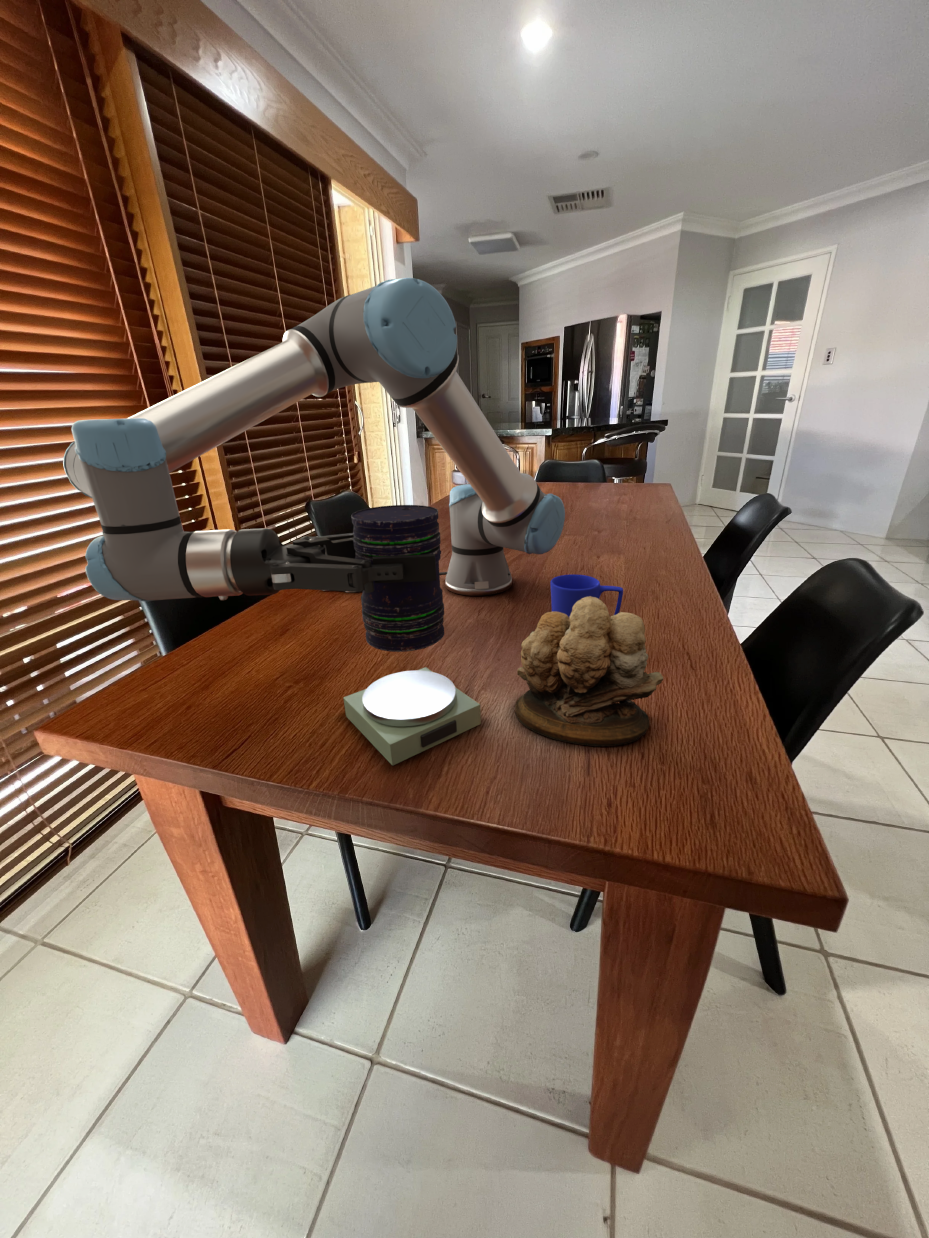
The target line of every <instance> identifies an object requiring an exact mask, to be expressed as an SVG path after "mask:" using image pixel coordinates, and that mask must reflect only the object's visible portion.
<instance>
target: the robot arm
mask: <svg viewBox="0 0 929 1238" xmlns="http://www.w3.org/2000/svg"><path fill="white" fill-rule="evenodd" d="M455 329H457V324H456V319H455V317H454V313H453V311H452V308H451V307H450V305H449V303H448V302H447V300H446V299H445V297H444V296H443V295H442V294H441V293H440V291H438V289H436V288H435V287H434V286H433V285H431V284H430V283H428V282H427V281H424V280H422V279H420V278H415V277H402V278H394V279H391V278H390V279H387V280H384V281H381V282H379V283H378V284H376V285H374V286H372V287H369V288H366V289H363V290H360V291H358V292H355V293H352V294H351V293H350V294H348V295H345V296H343V297H340V298H338V299H337V300H335V301H334V302H331V303H330V304H329V305H327V306H325V308H322V310H320V311H318V312H317V313H316V314H315V315H312V316H311V317H310V318H308V319H306V320H305V321H303V322H302V323H299V324H297V325H295V326H293V327H292V328H290V329H287V330H286V331H285V332H284V333H283V337H282V342H280V343H278V344H276V345H274V346H272V347H270V348H268V349H266V350H264V351H262V352H260V353H258V354H256V355H254V356H251V357H250V358H247V359H246V360H244V361H242V362H240V363H237V364H235V365H233V366H231V367H229V368H227V369H225V370H223V371H221V372H219V373H217V374H214V375H213V376H211V377H209V378H207V379H205V380H202V381H201V382H198V383H196V384H195V385H192V386H190V387H188V388H185V389H184V390H182V391H180V392H178V393H176V394H174V395H172V396H169V397H168V398H166V399H164V400H162V401H160V402H157V403H156V404H153V405H152V406H149V407H148V408H145V409H144V410H141V411H139V412H137V413H136V414H133V415H131V416H129V417H126V418H100V419H80V420H76V421H75V422H73V424H72V426H71V434H72V437H73V440H74V441H72V442H71V443H70V444H69V446H67V448H66V450H65V452H64V453H63V454H64V455H63V459H62V464H63V469H64V473H65V475H66V477H67V479H68V480H69V482H70V484H71V485H72V486H73V487H74V488H75V489H76V490H77V491H79V492H81V494H83V495H85V496H86V497H89V498H91V499H92V502H93V505H94V507H95V511H96V513H97V516H98V519H99V522H100V527H101V530H102V532H101V533H102V535H101V536H98V537H96V538H94V539H93V540H92V541H91V542H89V543H88V546H87V548H86V550H85V554H84V556H85V557H84V558H85V560H86V562H87V564H86V566H85V567H84V570H85V575H86V577H87V580H88V581H89V583H90V585H91V587H92V588H93V589H94V590H95V591H96V592H97V593H98V594H99V595H101V596H102V597H104V598H106V599H109V600H113V601H140V602H153V601H164V600H179V599H193V598H196V599H197V598H198V599H200V598H212V597H218V598H219V600H220V601H227V600H228V598H229V597H234V596H235V597H236V596H241V595H243V594H244V595H246V596H266V595H276V594H278V593H279V592H280V591H283V590H309V591H310V590H311V591H323V590H329V591H330V592H345V591H349V592H348V593H363V592H362V591H364V590H365V593H370V592H373V591H374V583H373V581H375V583H396V582H417V581H436V561H435V554H424V555H402V556H380V557H373V558H372V560H373V565H371V561H370V560H362V559H355V557H356V550H355V549H354V541H353V538H354V534H353V532H349V533H339V534H329V535H320V536H319V535H317V536H313V535H312V536H308V535H306V536H305V535H304V536H303V537H300V539H296V540H295V539H294V540H293V541H292V544H287V545H285V544H283V542H281V540H280V537H279V536H278V534H277V533H276V532H275V531H274V529H271V528H268V527H267V528H250V529H249V528H246V529H245V528H243V529H239V530H238V531H237V530H235V529H231V528H230V529H229V528H228V529H211V530H210V529H209V530H195V531H185V530H184V527H183V524H182V519H181V515H180V511H179V508H178V504H177V500H176V494H175V490H174V487H173V482H172V478H171V474H170V473H172V472H174V471H176V470H177V469H180V468H181V467H183V466H185V465H186V464H188V463H190V462H192V461H194V460H195V459H197V458H199V457H201V456H203V455H205V454H206V453H208V452H210V451H212V450H213V449H216V448H217V447H219V446H221V445H222V444H224V443H226V442H228V441H230V440H231V439H233V438H235V437H237V436H239V435H241V434H242V433H244V432H246V431H248V430H250V429H251V428H253V427H255V426H257V425H259V424H260V423H262V422H264V421H265V420H268V419H269V418H271V417H273V416H275V415H276V414H278V413H280V412H282V411H284V410H286V409H287V408H289V407H291V406H293V405H295V404H297V403H298V402H300V401H302V400H303V399H305V398H307V397H309V396H311V395H313V396H315V397H317V398H321V397H324V396H326V395H327V394H330V393H331V392H334V391H336V390H338V389H341V388H344V387H349V386H354V385H358V384H371V383H372V384H373V383H379V384H380V385H381V386H382V388H383V390H385V391H386V393H387V394H388V395H389V397H390V398H391V400H393V402H394V403H395V404H396V406H398V407H399V408H404V409H412V410H413V412H414V413H415V414H416V415H417V417H418V418H419V419H420V420H421V422H422V423H423V424H424V426H425V427H426V429H428V431H429V432H430V434H431V435H432V436H433V438H434V439H435V440H436V441H437V443H438V444H439V446H440V447H441V448H442V450H443V451H444V452H445V453H446V455H447V456H448V458H449V459H450V460H451V461H452V463H453V464H454V465H455V467H456V469H458V471H459V472H460V473H461V475H462V476H463V477H464V479H465V480H466V482H467V483H466V484H460V485H456V486H453V487H452V488H451V490H450V491H449V504H448V510H449V526H450V541H451V557H450V560H449V564H448V568H447V571H441V572H440V571H439V574H440V576H445V588H446V589H447V590H448V591H449V592H451V593H453V594H457V595H461V596H467V597H468V596H469V597H471V596H473V597H482V596H483V597H485V596H490V595H491V596H492V595H496V594H500V593H503V592H505V591H507V590H509V589H510V588H511V587H512V585H513V578H512V573H511V571H510V567H509V565H508V561H507V558H506V554H505V549H509V550H514V551H519V552H523V553H526V554H528V555H532V554H533V555H543V554H546V553H548V552H550V551H551V550H552V549H553V548H554V547H555V546H556V544H557V543H558V541H559V540H560V537H561V535H562V533H563V530H564V526H565V520H566V519H565V518H566V509H565V505H564V502H563V500H562V499H561V498H560V497H559V496H558V495H556V494H553V493H544V492H543V490H542V488H540V486H539V484H538V483H537V481H536V480H535V478H534V476H532V475H530V474H529V473H524V472H523V473H522V472H521V471H520V469H519V468H518V467H517V465H516V463H515V462H514V460H513V458H512V457H511V455H510V454H509V452H508V450H507V449H506V448H505V446H504V444H503V443H502V441H501V440H500V438H499V437H498V435H497V433H496V432H495V430H494V428H493V427H492V425H491V423H490V422H489V420H488V419H487V418H486V416H485V415H484V413H483V411H482V410H481V408H480V406H479V405H478V403H477V402H476V400H475V399H474V397H473V396H472V393H471V392H470V391H469V389H468V387H467V386H466V385H465V382H464V381H463V379H462V378H461V376H460V375H459V374H458V372H457V371H458V370H457V369H458V365H459V361H460V356H459V354H458V352H457V347H458V335H457V334H456V333H455ZM329 591H328V592H329Z"/></svg>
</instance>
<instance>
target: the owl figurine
mask: <svg viewBox="0 0 929 1238" xmlns="http://www.w3.org/2000/svg"><path fill="white" fill-rule="evenodd" d="M569 618H570V619H569ZM645 633H646V627H645V623H644V620H643V618H642V617H640V616H639V615H636V614H634V613H633V612H632V613H630V612H623V611H619V613H618V614H616V615H614V614H613V615H611V614H610V613H609V609H608V607H607V604H606V603H604V602H603V601H602V600H601V599H600V598H599V599H598V598H596V597H591V596H589V597H585V598H582V599H581V600H579V601H577V602H576V603H575V604H574V605H573V607H572V612H571V615H570V616H569V617H568V616H567V615H566V614H564V613H561V612H557V611H556V612H555V611H552V610H551V611H548V612H545V613H543V614H542V615H541V616H540V618H539V621H538V623H537V624H536V628H535V630H534V631H533V630H532V631H531V633H530V634H529V635H528V636H527V637H526V638H525V639H524V640H523V641H522V642H521V645H520V646H521V651H520V656H521V658H520V663H521V666H520V667H519V668H517V671H516V672H517V676H519V678H521V679H522V680H523V681H526V684H527V686H528V689H529V690H527V691H525V693H524V694H522V695H520V697H518V699H517V700H516V702H515V706H514V708H515V709H514V710H515V711H514V714H515V716H516V718H517V720H518V722H519V723H520V724H521V725H522V726H524V727H525V728H527V729H529V730H530V731H532V732H534V733H537V734H539V735H542V736H544V737H546V738H550V739H552V740H556V741H559V742H564V743H569V744H574V745H583V746H589V747H612V746H613V747H615V746H621V745H626V744H630V743H633V742H636V741H638V740H640V738H641V737H644V736H645V735H646V734H647V731H648V729H649V726H650V717H649V716H648V714H647V713H646V711H645V710H643V709H642V708H641V707H640V706H639V705H638V704H637V703H636V702H635V701H634V700H638V699H639V700H643V699H646V698H649V697H650V696H652V695H653V693H654V692H655V691H657V686H659V685H661V684H662V683H663V681H664V676H663V674H662V673H661V672H660V671H653V672H649V673H648V672H645V671H646V668H647V665H648V662H647V661H648V659H649V653H647V648H646V642H647V640H646V634H645Z"/></svg>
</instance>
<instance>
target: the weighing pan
mask: <svg viewBox="0 0 929 1238" xmlns="http://www.w3.org/2000/svg"><path fill="white" fill-rule="evenodd" d="M456 688H457V687H456V686H455V684H454V683H453V681H452V680H451V679H450V678H449V677H447V676H445V675H443V674H441V673H438V672H434V671H432V672H430V671H421V670H419V669H417V670H416V669H415V670H403V671H399V672H394V673H391V674H387V675H385V676H382V677H381V678H378V679H376V680H375V681H373V682H372V683H371V684H370V685H368V686H367V688H365V689H366V690H365V689H364V690H365V692H364V694H363V698H362V701H363V708H364V711H365V713H366V714H367V715H368V716H369V717H370V718H371V719H373V720H374V721H376V722H379V723H381V724H385V725H390V726H401V727H405V726H416V725H421V724H425V723H428V722H431V721H434V720H436V719H438V718H440V717H442V716H443V715H445V714H446V713H447V712H449V711H450V710H451V709H452V707H453V706H454V704H455V702H456Z"/></svg>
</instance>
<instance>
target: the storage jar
mask: <svg viewBox="0 0 929 1238" xmlns="http://www.w3.org/2000/svg"><path fill="white" fill-rule="evenodd" d="M350 517H351V523H352V525H353V527H352V533H353V534H354V538H353V541H354V549H355V550H356V557H355V559H362V560H370V561H371V565H373V560H372V558H373V557H380V556H402V555H424V554H435V561H436V581H417V582H396V583H375V581H373V583H374V591H373V592H370V593H365V590H364V591H362V592H361V595H360V601H361V602H360V603H361V616H362V622H363V624H364V630H365V641H366V643H367V644H368V645H369V646H370V647H371V648H373V649H377V650H379V651H385V652H389V653H390V652H393V653H405V652H406V653H407V652H414V651H420V650H423V649H426V648H429V647H431V646H433V645H435V644H438V643H439V642H441V640H442V639H443V638H444V636H445V626H444V621H445V617H444V616H445V604H444V603H445V602H444V595H443V594H444V593H443V589H442V588H441V577H440V576H441V575H440V574H439V572H440V560H441V555H442V550H441V544H442V543H441V542H442V541H441V532H440V524H439V521H438V520H439V510H438V508H436V507H433V506H430V505H429V506H428V505H421V504H394V505H393V504H392V505H382V506H375V507H368V508H363V509H360V510H357V511H355V512H353V513H352V514H351V516H350Z"/></svg>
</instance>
